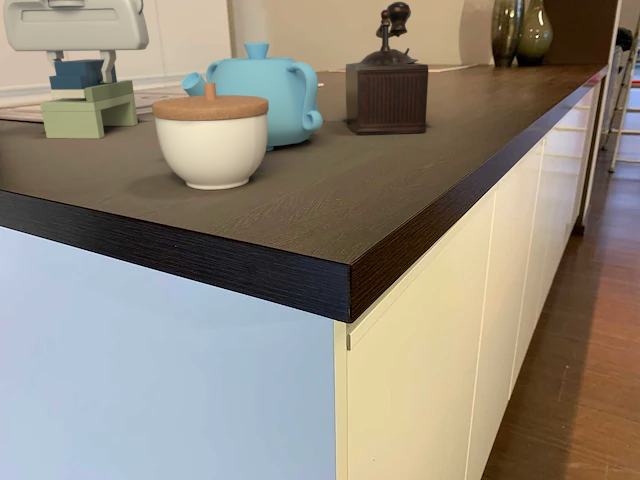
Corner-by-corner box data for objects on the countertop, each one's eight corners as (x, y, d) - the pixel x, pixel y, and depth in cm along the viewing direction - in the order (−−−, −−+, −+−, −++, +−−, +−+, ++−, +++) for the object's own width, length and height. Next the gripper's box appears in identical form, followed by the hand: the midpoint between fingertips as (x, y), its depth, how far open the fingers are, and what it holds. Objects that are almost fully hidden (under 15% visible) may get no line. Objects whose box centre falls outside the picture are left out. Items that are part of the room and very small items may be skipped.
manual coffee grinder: (431, 132, 77) (440, -5, 71) (355, 135, 76) (357, -4, 70) (403, 117, 92) (408, 2, 85) (339, 119, 90) (339, 3, 84)
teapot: (355, 141, 72) (356, 40, 67) (253, 171, 57) (246, 44, 52) (247, 128, 83) (242, 41, 78) (138, 151, 68) (123, 44, 63)
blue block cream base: (90, 90, 86) (85, 59, 85) (120, 90, 86) (115, 59, 84) (51, 98, 76) (44, 62, 75) (84, 98, 76) (78, 62, 74)
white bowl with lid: (217, 164, 60) (209, 77, 57) (293, 177, 54) (290, 80, 51) (138, 186, 52) (124, 85, 48) (218, 203, 46) (209, 90, 43)
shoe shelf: (46, 138, 77) (36, 88, 75) (92, 124, 89) (85, 80, 87) (99, 138, 77) (91, 87, 74) (138, 124, 89) (132, 80, 86)
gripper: (149, -19, 77) (160, 81, 82) (16, -16, 80) (35, 81, 85) (130, -23, 72) (143, 84, 77) (-13, -19, 74) (10, 85, 79)
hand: (86, 83), depth 81 cm, fingers closed on blue block cream base, 4 cm apart
